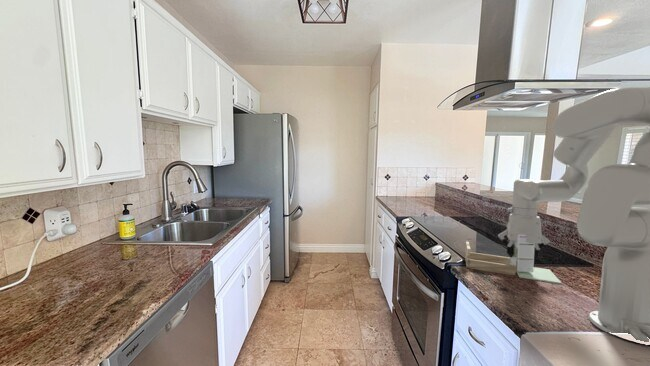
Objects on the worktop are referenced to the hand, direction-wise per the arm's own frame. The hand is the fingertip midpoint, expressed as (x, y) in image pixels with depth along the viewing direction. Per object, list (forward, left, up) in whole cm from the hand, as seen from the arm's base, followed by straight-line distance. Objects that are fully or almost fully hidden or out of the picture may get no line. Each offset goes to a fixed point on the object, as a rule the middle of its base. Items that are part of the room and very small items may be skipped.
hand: (521, 257), depth 98 cm
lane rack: (0, +11, -6) cm, 12 cm away
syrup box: (0, 0, -5) cm, 5 cm away
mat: (0, -4, -6) cm, 7 cm away
